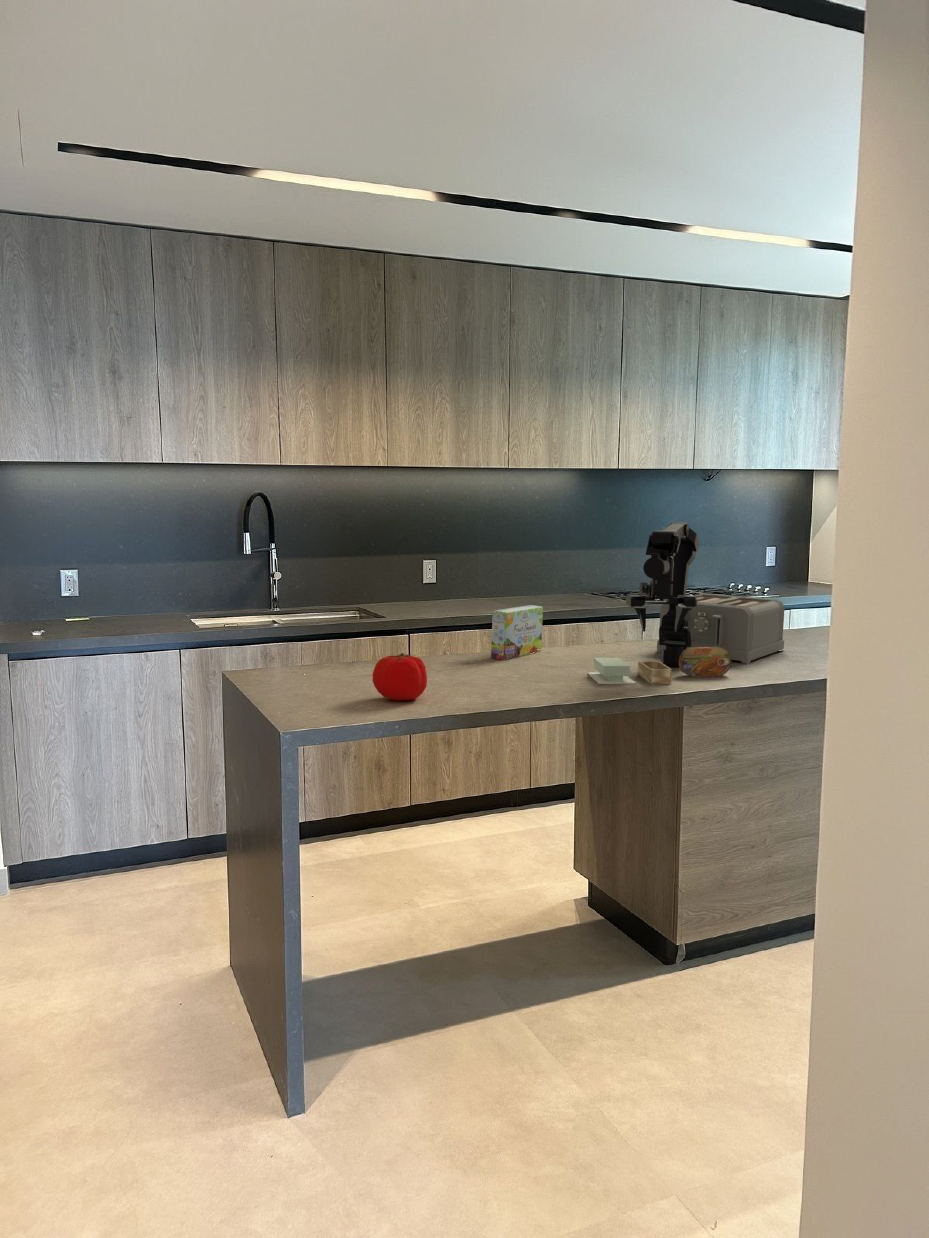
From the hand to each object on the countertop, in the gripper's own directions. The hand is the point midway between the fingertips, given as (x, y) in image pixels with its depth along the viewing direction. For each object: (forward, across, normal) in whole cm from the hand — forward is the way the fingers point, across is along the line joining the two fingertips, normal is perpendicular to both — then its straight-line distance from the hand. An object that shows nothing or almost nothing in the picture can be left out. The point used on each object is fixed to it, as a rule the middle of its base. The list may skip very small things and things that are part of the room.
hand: (659, 631), depth 258 cm
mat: (+13, +14, +2) cm, 19 cm away
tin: (+13, -14, -2) cm, 19 cm away
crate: (+13, +2, +3) cm, 13 cm away
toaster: (+14, -32, -40) cm, 53 cm away
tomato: (+13, +73, +26) cm, 79 cm away
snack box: (+13, +35, -35) cm, 51 cm away
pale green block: (+13, +14, +2) cm, 19 cm away
